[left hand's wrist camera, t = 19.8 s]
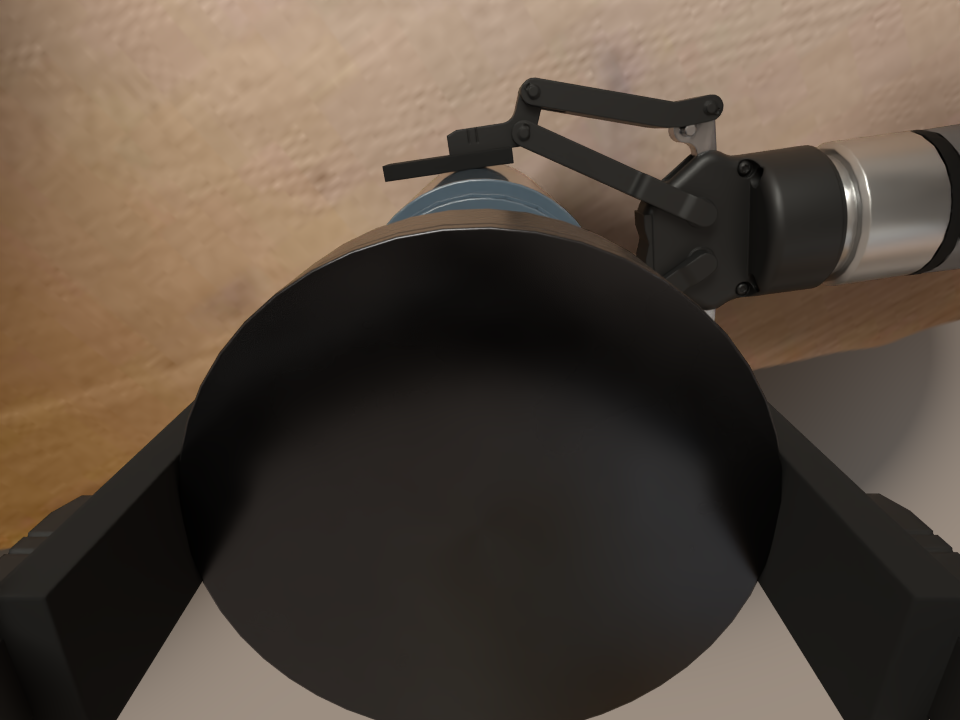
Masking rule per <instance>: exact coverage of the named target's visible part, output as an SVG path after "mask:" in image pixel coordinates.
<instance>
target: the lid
mask: <svg viewBox="0 0 960 720" xmlns="http://www.w3.org/2000/svg"><path fill="white" fill-rule="evenodd" d="M178 489H179V498H180V507H181V512H182V517H183V522H184V527H185V531H186V535H187V540H188V544H189V548H190V552H191V556H192V558H193V560H194V562H195V565H196V567H197V569H198V572H199V574H200V576H201V579H202V581H203V583H204V585H205V587H206V588H207V590H208V591H209V593H210V595H211V596H212V598H213V600H214V601H215V603H216V605H217V606H218V608H219V610H220V611H221V612H222V614H223V615H224V616H225V617H226V619H227V620H228V621H229V622H230V624H231V625H232V626H233V627H234V629H235V630H236V631H237V632H238V634H239V635H240V636H241V637H242V638H243V639H244V640H245V641H246V642H247V643H248V644H249V645H250V646H251V647H252V648H253V649H254V650H255V651H256V652H257V653H258V654H259V655H260V656H261V657H262V658H263V659H265V660H266V661H267V662H269V663H270V664H271V665H272V666H274V667H275V668H276V669H278V670H279V671H280V672H281V673H283V674H284V675H285V676H287V677H288V678H289V679H291V680H292V681H294V682H296V683H297V684H299V685H301V686H302V687H304V688H306V689H307V690H309V691H310V692H312V693H314V694H315V695H317V696H319V697H321V698H323V699H325V700H328V701H330V702H332V703H334V704H336V705H338V706H340V707H342V708H344V709H346V710H349V711H352V712H355V713H358V714H360V715H363V716H366V717H368V718H371V719H374V720H586V719H589V718H592V717H595V716H598V715H602V714H604V713H606V712H609V711H611V710H613V709H616V708H618V707H620V706H623V705H625V704H627V703H630V702H632V701H634V700H636V699H637V698H639V697H641V696H643V695H645V694H646V693H648V692H650V691H652V690H654V689H655V688H657V687H659V686H661V685H662V684H664V683H665V682H666V681H668V680H669V679H671V678H672V677H674V676H675V675H676V674H678V673H679V672H681V671H682V670H683V669H685V668H686V667H688V666H689V665H690V664H691V663H692V662H693V661H694V660H695V659H697V658H698V657H699V656H700V655H701V654H702V653H703V652H704V651H706V650H707V649H708V648H709V647H710V646H711V645H712V644H713V643H714V642H715V641H716V640H717V638H718V637H719V636H720V635H721V634H722V633H723V632H724V631H725V629H726V628H727V627H728V626H729V625H730V624H731V623H732V621H733V620H734V619H735V617H736V616H737V614H738V613H739V611H740V610H741V608H742V607H743V605H744V604H745V603H746V601H747V600H748V598H749V597H750V595H751V593H752V591H753V589H754V587H755V585H756V583H757V581H758V579H759V577H760V575H761V573H762V571H763V569H764V567H765V565H766V562H767V559H768V556H769V553H770V550H771V546H772V542H773V538H774V534H775V529H776V524H777V519H778V515H779V510H780V505H781V492H782V465H781V458H780V451H779V444H778V437H777V432H776V429H775V425H774V422H773V419H772V416H771V413H770V409H769V406H768V403H767V400H766V397H765V395H764V393H763V391H762V390H761V388H760V385H759V383H758V381H757V379H756V377H755V376H754V373H753V371H752V369H751V367H750V365H749V364H748V363H747V361H746V360H745V358H744V357H743V356H742V354H741V353H740V351H739V350H738V349H737V347H736V346H735V344H734V343H733V342H732V340H731V339H730V338H729V336H728V335H727V333H726V332H725V331H724V330H723V329H722V328H721V327H720V326H719V325H718V324H717V323H716V322H715V321H714V320H713V319H712V318H711V317H710V316H709V315H708V314H707V313H706V312H705V311H704V310H703V309H702V308H701V307H700V306H699V305H698V304H697V303H696V302H694V301H693V300H692V299H690V298H689V297H688V296H687V295H685V294H684V293H683V292H682V291H680V290H679V289H678V288H676V287H675V286H674V285H673V284H671V283H670V282H669V281H668V280H666V279H665V278H664V277H662V276H661V275H660V274H659V273H657V272H656V271H655V270H653V269H652V268H651V267H649V266H648V265H647V264H645V263H644V262H643V261H641V260H640V259H639V258H637V257H636V256H635V255H633V254H632V253H631V252H629V251H628V250H626V249H624V248H622V247H620V246H618V245H617V244H615V243H613V242H611V241H609V240H608V239H606V238H604V237H602V236H600V235H599V234H596V233H594V232H591V231H588V230H586V229H583V228H581V227H578V226H575V225H573V224H570V223H568V222H565V221H562V220H557V219H553V218H549V217H545V216H540V215H536V214H532V213H527V212H519V211H508V210H497V209H466V210H448V211H442V212H436V213H431V214H425V215H419V216H414V217H410V218H407V219H404V220H401V221H397V222H394V223H391V224H388V225H385V226H382V227H379V228H376V229H374V230H372V231H370V232H368V233H365V234H363V235H361V236H359V237H357V238H355V239H353V240H351V241H349V242H347V243H345V244H343V245H341V246H340V247H338V248H337V249H335V250H334V251H332V252H331V253H329V254H328V255H326V256H325V257H323V258H322V259H320V260H319V261H317V262H316V263H314V264H313V265H312V266H310V267H309V268H308V269H307V270H305V271H304V272H303V273H301V274H300V275H299V276H298V277H296V278H295V279H294V280H292V281H291V282H290V283H289V284H287V285H286V286H285V287H284V288H282V289H281V290H280V291H278V292H277V293H276V294H275V295H274V296H273V297H271V298H270V299H269V300H268V301H267V302H266V303H265V304H264V305H263V306H261V307H260V308H259V309H258V310H257V311H256V312H255V313H254V314H253V315H252V316H250V317H249V318H248V319H247V320H246V321H245V322H244V323H243V324H242V326H241V327H240V328H239V329H238V330H237V332H236V333H235V334H234V335H233V337H232V338H231V339H230V340H229V342H228V343H227V344H226V345H225V346H224V348H223V349H222V350H221V351H220V353H219V354H218V356H217V358H216V359H215V361H214V363H213V365H212V366H211V368H210V370H209V371H208V373H207V375H206V377H205V378H204V380H203V382H202V384H201V385H200V388H199V390H198V393H197V396H196V398H195V401H194V403H193V406H192V409H191V411H190V414H189V416H188V419H187V423H186V428H185V433H184V438H183V442H182V447H181V452H180V466H179V488H178Z"/></svg>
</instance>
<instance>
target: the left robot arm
mask: <svg viewBox="0 0 960 720" xmlns="http://www.w3.org/2000/svg"><path fill="white" fill-rule="evenodd" d="M194 401H195V400H194ZM194 401H193V402H192V403H191V404H190V405H189V406H188V407H187V408H186V409H184V410H183V411H182V412H181V413H180V414H179V415H178V416H177V417H176V418H175V419H174V420H173V421H172V422H171V423H170V424H168V425H167V426H166V427H165V428H164V429H163V430H162V431H161V432H160V433H159V434H158V435H157V436H156V437H155V438H153V439H152V440H151V441H150V442H149V443H148V444H147V445H146V446H145V447H144V448H143V449H142V450H141V451H140V452H138V453H137V454H136V455H135V456H134V457H133V458H132V459H131V460H130V461H129V462H128V463H127V464H126V465H125V466H124V467H122V468H121V469H120V470H119V471H118V472H117V473H116V474H115V475H114V476H113V477H112V478H111V479H110V480H109V481H107V482H106V483H105V484H104V485H103V486H102V487H101V488H100V489H99V490H98V491H97V492H96V493H95V494H94V495H82V496H80V497H78V498H76V499H75V500H73V501H71V502H69V503H67V504H66V505H64V506H62V507H60V508H59V509H57V510H55V511H53V512H51V513H50V514H49V515H48V516H47V517H46V518H44V519H43V520H42V521H41V522H40V523H39V524H38V525H37V526H35V527H34V528H33V529H32V530H31V531H30V532H29V533H28V537H23V538H22V539H21V540H20V541H18V542H17V543H16V544H15V545H14V546H13V547H12V548H11V549H9V553H8V554H4V555H3V556H1V557H0V720H117V718H118V716H119V715H120V713H121V712H122V710H123V708H124V707H125V705H126V704H127V702H128V700H129V699H130V697H131V696H132V694H133V692H134V691H135V689H136V687H137V686H138V684H139V683H140V681H141V679H142V678H143V676H144V675H145V673H146V671H147V670H148V668H149V666H150V665H151V663H152V662H153V660H154V658H155V657H156V655H157V653H158V652H159V650H160V649H161V647H162V646H163V644H164V642H165V641H166V639H167V637H168V636H169V634H170V633H171V631H172V629H173V628H174V626H175V624H176V623H177V621H178V620H179V618H180V616H181V615H182V613H183V612H184V610H185V608H186V607H187V605H188V604H189V602H190V600H191V599H192V597H193V595H194V594H195V592H196V591H197V589H198V587H199V586H200V584H201V583H202V579H201V576H200V574H199V572H198V569H197V567H196V565H195V562H194V560H193V558H192V556H191V552H190V548H189V544H188V540H187V535H186V531H185V527H184V522H183V517H182V512H181V507H180V498H179V489H178V488H179V466H180V452H181V447H182V442H183V438H184V433H185V428H186V423H187V419H188V416H189V414H190V411H191V409H192V406H193V403H194ZM767 403H768V402H767ZM768 406H769V409H770V413H771V416H772V419H773V422H774V425H775V429H776V432H777V437H778V444H779V451H780V458H781V465H782V492H781V505H780V510H779V515H778V519H777V524H776V529H775V534H774V538H773V542H772V546H771V550H770V553H769V556H768V559H767V562H766V565H765V567H764V569H763V571H762V573H761V575H760V577H759V579H758V582H759V583H760V585H761V587H762V588H763V590H764V592H765V593H766V595H767V597H768V598H769V600H770V601H771V603H772V605H773V606H774V608H775V609H776V611H777V613H778V614H779V616H780V617H781V619H782V621H783V622H784V624H785V626H786V627H787V629H788V630H789V632H790V634H791V635H792V637H793V638H794V640H795V642H796V643H797V645H798V647H799V648H800V650H801V651H802V653H803V655H804V656H805V658H806V659H807V661H808V663H809V664H810V666H811V667H812V669H813V671H814V672H815V674H816V676H817V677H818V679H819V680H820V682H821V684H822V685H823V687H824V689H825V690H826V692H827V693H828V695H829V697H830V698H831V700H832V701H833V703H834V705H835V706H836V708H837V709H838V711H839V713H840V714H841V716H842V718H843V719H844V720H929V719H930V720H960V554H959V553H958V552H953V551H952V547H951V546H950V545H948V544H947V543H946V542H945V541H944V540H943V539H942V538H941V537H939V536H938V535H934V534H933V530H931V529H930V528H929V527H928V526H927V525H926V524H925V523H923V522H922V521H921V520H920V519H919V518H918V517H917V516H915V515H914V514H913V513H912V512H911V511H910V510H908V509H906V508H904V507H902V506H901V505H899V504H897V503H895V502H893V501H892V500H890V499H888V498H886V497H884V496H883V495H881V494H866V493H865V492H864V491H863V490H861V489H860V488H859V487H858V486H857V485H856V484H855V483H854V482H853V481H852V480H851V479H850V478H849V477H848V476H847V475H845V474H844V473H843V472H842V471H841V470H840V469H839V468H838V467H837V466H836V465H835V464H834V463H833V462H832V461H830V460H829V459H828V458H827V457H826V456H825V455H824V454H823V453H822V452H821V451H820V450H819V449H818V448H817V447H815V446H814V445H813V444H812V443H811V442H810V441H809V440H808V439H807V438H806V437H805V436H804V435H803V434H802V433H800V432H799V431H798V430H797V429H796V428H795V427H794V426H793V425H792V424H791V423H790V422H789V421H788V420H787V419H786V418H784V417H783V416H782V415H781V414H780V413H779V412H778V411H777V410H776V409H775V408H774V407H773V406H772V405H771V404H769V403H768Z"/></svg>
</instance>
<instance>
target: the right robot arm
mask: <svg viewBox="0 0 960 720" xmlns="http://www.w3.org/2000/svg"><path fill="white" fill-rule="evenodd" d="M541 110H547V111H553V112H559V113H565V114H571V115H576V116H582V117H588V118H594V119H600V120H606V121H611V122H617V123H623V124H629V125H635V126H641V127H647V128H668V129H669V136H670V138H671V139H672V140H673V141H675V142H681V143H685V144H687V145H688V146H689V148H690V150H691V154H690V155H689V156H688V157H687V158H686V159H684V160H683V161H682V162H681V163H680V164H679V165H678V166H677V167H676V168H675V169H673V170H672V171H671V172H670V173H669V174H668V175H667V176H666V177H665V178H664V179H662V180H658V179H656V178H654V177H652V176H650V175H647V174H645V173H642V172H640V171H637V170H635V169H633V168H631V167H629V166H627V165H624V164H622V163H620V162H618V161H616V160H613V159H611V158H609V157H607V156H605V155H602V154H600V153H598V152H596V151H594V150H591V149H589V148H587V147H585V146H583V145H580V144H578V143H576V142H574V141H572V140H569V139H567V138H565V137H563V136H561V135H558V134H556V133H554V132H552V131H550V130H547V129H545V128H543V127H541V126H539V125H538V120H539V116H540V112H541ZM722 111H723V102H722V100H721V98H720V97H719V96H717V95H706V96H700V97H694V98H689V99H685V100H680V101H675V102H672V101H666V100H661V99H655V98H649V97H643V96H638V95H632V94H626V93H620V92H615V91H609V90H603V89H597V88H592V87H586V86H580V85H574V84H569V83H563V82H557V81H551V80H546V79H540V78H530V79H528V80H526V81H525V82H524V83H523V84H522V86H521V87H520V89H519V91H518V97H517V102H516V106H515V111H514V114H513V116H512V117H511V119H510V120H509V121H507V122H505V123H500V124H494V125H487V126H481V127H474V128H468V129H461V130H456V131H454V132H452V133H451V134H449V135H448V136H447V140H448V147H449V154H450V155H447V156H440V157H433V158H426V159H420V160H413V161H406V162H400V163H393V164H388V165H385V166H382V167H383V172H384V177H385V182H388V181H395V180H402V179H409V178H415V177H422V176H429V175H436V174H442V173H449V172H456V171H463V170H470V169H476V168H483V167H490V166H497V165H503V164H510V163H514V162H513V153H512V148H513V147H520V146H521V147H523V148H525V149H527V150H530V151H532V152H534V153H536V154H539V155H541V156H543V157H545V158H548V159H550V160H552V161H554V162H556V163H559V164H561V165H563V166H565V167H568V168H570V169H572V170H574V171H577V172H579V173H581V174H583V175H585V176H588V177H590V178H592V179H594V180H597V181H599V182H601V183H603V184H606V185H608V186H610V187H612V188H614V189H617V190H619V191H621V192H623V193H625V194H628V195H630V196H632V197H634V198H637V199H639V200H641V202H640V204H639V207H638V210H636V211H635V225H636V228H637V231H638V234H639V238H640V239H639V244H638V248H637V258H639V259H640V260H641V261H643V262H644V263H645V264H647V265H648V266H649V267H651V268H652V269H653V270H655V271H656V272H657V273H659V274H660V275H661V276H662V277H664V278H665V279H666V280H668V281H669V282H670V283H671V284H673V285H674V286H675V287H676V288H678V289H679V290H680V291H682V292H683V293H684V294H685V295H687V296H688V297H689V298H690V299H692V300H693V301H694V302H696V303H697V304H698V305H699V306H700V307H701V308H702V309H703V310H704V311H705V312H706V313H707V314H708V315H709V316H710V317H711V318H712V319H713V320H714V321H715V309H716V308H718V307H720V306H721V305H723V304H724V303H726V302H728V301H730V300H732V299H735V298H739V297H749V296H758V295H765V294H773V293H780V292H788V291H795V290H803V289H810V288H814V287H817V286H819V285H820V284H824V285H828V286H836V285H843V284H850V283H856V282H863V281H869V280H876V279H883V278H889V277H896V276H903V275H915V274H921V273H927V272H936V271H944V270H953V269H960V124H957V125H951V126H945V127H939V128H932V129H926V130H913V131H905V132H897V133H890V134H883V135H876V136H869V137H862V138H854V139H847V140H840V141H833V142H827V143H823V144H821V145H820V146H818V147H813V146H809V145H805V146H797V147H790V148H783V149H776V150H770V151H763V152H756V153H749V154H742V155H734V156H729V155H726V154H724V153H722V152H719V151H717V150H716V129H715V120H716V119H717V118H718V117H719V116H720V115H721V113H722Z"/></svg>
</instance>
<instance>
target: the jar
mask: <svg viewBox="0 0 960 720" xmlns="http://www.w3.org/2000/svg"><path fill="white" fill-rule="evenodd" d="M466 209H497V210H508V211H519V212H527V213H532V214H536V215H540V216H545V217H549V218H553V219H557V220H562V221H565V222H568V223H570V224H573V225H575V226H578V227H581V226H580V225H579V223H578V222H577V221H576V220H575V219H574V218H573V217H572V216H571V215H570V214H569V213H568V212H567V211H566V210H565V209H564V208H563V207H562V206H561V205H560V204H559V203H557V202H556V201H555V200H554V199H553V198H552V197H551V196H550V195H549V194H547V193H546V192H545V191H544V190H543V189H542V188H541V187H540V186H538V185H537V184H536V183H535V182H534V181H533V180H531V179H530V178H529V177H528V176H526V175H525V174H523V173H522V172H520V171H518V170H516V169H514V168H511V167H509V166H506V165H497V166H490V167H483V168H476V169H470V170H463V171H456V172H449V173H442V174H440V175H439V176H437V177H436V178H435V179H433V180H432V181H431V182H430V183H429V184H428V185H427V186H426V187H425V188H423V189H422V190H421V191H420V192H419V193H418V194H417V195H416V196H415V197H414V198H413V199H412V200H410V201H409V202H408V203H407V204H406V205H405V206H404V207H403V208H402V209H401V210H400V211H399V212H397V213H396V214H395V215H394V216H393V218H392V219H391V220H390V221H389V222H388V223H387V225H388V224H391V223H394V222H397V221H401V220H404V219H407V218H410V217H414V216H419V215H425V214H431V213H436V212H442V211H448V210H466ZM581 228H582V227H581Z"/></svg>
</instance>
